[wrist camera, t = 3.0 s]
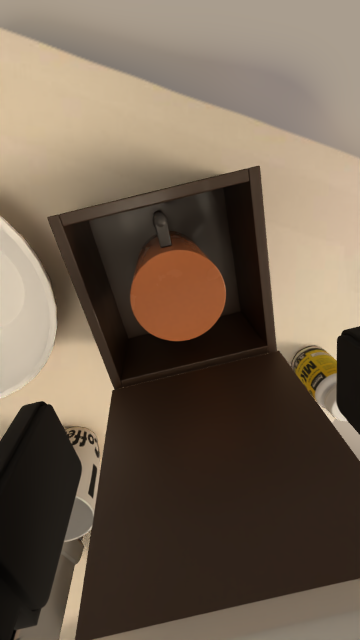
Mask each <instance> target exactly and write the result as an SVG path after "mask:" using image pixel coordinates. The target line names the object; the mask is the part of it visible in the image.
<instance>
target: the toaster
mask: <svg viewBox="0 0 360 640" xmlns="http://www.w3.org/2000/svg"><path fill="white" fill-rule="evenodd" d="M82 538H83V536H82V537H80V538H77V539H75V540H71V541H67V542H64V543H63V547H62V551H61V555H60V559H59V563H58V566H57V570H56V574H55V578H54V582H53V586H52V589H51V593H50V597H49V600H48V602H47V604H46V605H45V606H44V607H43V608H41V612H40V616H39V619H38V623H37V625H36V626H32V627H28V628H23V629H19V630H14V631H13V634H12V637H11V640H59V637H60V632H61V627H62V623H63V618H64V613H65V609H66V604H67V599H68V594H69V590H70V585H71V580H72V576H73V571H74V566H75V564H77V563H78V562H79V560H80V558H81V555H82V552H83V548H84V546H83V543H82V542H81V540H82Z"/></svg>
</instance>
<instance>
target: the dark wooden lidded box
mask: <svg viewBox="0 0 360 640" xmlns="http://www.w3.org/2000/svg"><path fill="white" fill-rule="evenodd" d="M156 211H162V212H163V213H164V214H165V216H166V217H167V219H168V230H169V231H175V232H179V233H182V234H184V235H186V236H187V237H189V238H190V239H191V240H192V241H193V242H194V243H195V244H196V245H197V246H198V247H199V248H200V250H201V251H202V252H203V253H204V254H205V255H206V256H207V257H208V258H209V259H210V260H211V261H212V263H213V264H214V265H215V266H216V267H217V268H218V270H219V271H220V273H221V275H222V277H223V280H224V283H225V288H226V300H225V305H224V308H223V311H222V313H221V315H220V317H219V319H218V320H217V322H216V323H215V324H214V325H213V326H212V327H211V328H210V329H209V330H208V331H206V332H205V333H203V334H202V335H200V336H198V337H196V338H193V339H190V340H185V341H169V340H164V339H161V338H158V337H156V336H154V335H152V334H150V333H149V332H148V331H146V330H145V329H144V328H143V327H142V326H141V325H140V324H139V322H138V321H137V319H136V318H135V316H134V314H133V311H132V308H131V303H130V290H131V285H132V281H133V277H134V273H135V269H136V265H137V261H138V257H139V253H140V250H141V248H142V246H143V245H144V243H145V242H146V241H147V240H148V239H149V238H150V237H152V236H153V235H155V234H157V232H156V228H155V227H154V225H153V214H154V213H155V212H156ZM47 219H48V221H49V224H50V226H51V229H52V231H53V234H54V236H55V239H56V242H57V244H58V247H59V249H60V252H61V254H62V257H63V259H64V262H65V265H66V267H67V270H68V272H69V275H70V277H71V280H72V282H73V285H74V287H75V290H76V293H77V295H78V298H79V300H80V303H81V305H82V308H83V310H84V313H85V316H86V318H87V321H88V323H89V326H90V328H91V331H92V333H93V336H94V338H95V341H96V344H97V346H98V349H99V351H100V354H101V356H102V359H103V361H104V364H105V367H106V369H107V372H108V374H109V377H110V379H111V382H112V384H113V387H114V389H120V388H123V387H128V386H132V385H136V384H140V383H145V382H149V381H153V380H157V379H161V378H166V377H170V376H174V375H178V374H182V373H187V372H191V371H195V370H199V369H203V368H208V367H212V366H216V365H220V364H225V363H229V362H233V361H237V360H241V359H246V358H250V357H254V356H258V355H262V354H267V353H271V352H275V351H277V348H276V337H275V326H274V315H273V304H272V293H271V283H270V272H269V261H268V250H267V239H266V228H265V217H264V206H263V195H262V184H261V174H260V166H256V167H251V168H248V169H243V170H239V171H235V172H231V173H227V174H223V175H219V176H214V177H210V178H206V179H202V180H198V181H194V182H190V183H186V184H182V185H177V186H173V187H169V188H165V189H161V190H157V191H153V192H149V193H145V194H140V195H136V196H132V197H128V198H124V199H120V200H116V201H112V202H107V203H103V204H99V205H95V206H91V207H87V208H83V209H79V210H75V211H70V212H66V213H62V214H58V215H54V216H50V217H47Z"/></svg>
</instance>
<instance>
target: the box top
mask: <svg viewBox="0 0 360 640" xmlns="http://www.w3.org/2000/svg"><path fill="white" fill-rule="evenodd" d="M355 579H360V461H359V460H358V458H357V457H356V456H355V454H354V453H353V451H352V450H351V449H350V447H349V446H348V445H347V443H346V442H345V441H344V439H343V438H342V436H341V435H340V434H339V432H338V431H337V430H336V428H335V427H334V426H333V424H332V423H331V421H330V420H329V419H328V417H327V416H326V414H325V413H324V412H323V410H322V409H321V408H320V406H319V405H318V403H317V402H316V401H315V399H314V398H313V397H312V395H311V394H310V393H309V391H308V390H307V388H306V387H305V386H304V384H303V383H302V382H301V380H300V379H299V377H298V376H297V375H296V373H295V372H294V371H293V369H292V368H291V366H290V365H289V364H288V362H287V361H286V360H285V358H284V357H283V356H282V354H281V353H280V351H275V352H271V353H267V354H263V355H258V356H254V357H250V358H246V359H242V360H237V361H233V362H229V363H225V364H220V365H216V366H212V367H208V368H204V369H199V370H195V371H191V372H187V373H183V374H178V375H174V376H170V377H166V378H162V379H157V380H153V381H149V382H145V383H141V384H136V385H132V386H128V387H124V388H120V389H115V390H113V391H112V397H111V404H110V410H109V417H108V424H107V430H106V437H105V444H104V450H103V457H102V464H101V470H100V477H99V484H98V490H97V497H96V504H95V510H94V517H93V524H92V530H91V537H90V544H89V550H88V557H87V564H86V570H85V577H84V584H83V590H82V597H81V604H80V610H79V617H78V624H77V630H76V637H75V640H93V639H98V638H102V637H106V636H110V635H115V634H119V633H123V632H127V631H132V630H136V629H140V628H145V627H149V626H153V625H157V624H162V623H166V622H170V621H174V620H179V619H183V618H188V617H192V616H196V615H201V614H205V613H209V612H214V611H218V610H223V609H227V608H231V607H236V606H240V605H244V604H249V603H253V602H258V601H262V600H266V599H271V598H275V597H280V596H284V595H288V594H293V593H297V592H302V591H306V590H310V589H315V588H319V587H324V586H328V585H333V584H337V583H342V582H346V581H351V580H355Z"/></svg>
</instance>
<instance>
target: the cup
mask: <svg viewBox="0 0 360 640" xmlns="http://www.w3.org/2000/svg"><path fill="white" fill-rule="evenodd" d="M65 432H66V434H67V436H68V438H69V440H70V442H71V443H72V445H73V447H74V449H75V451H76V453H77V455H78V457H79V459H80V461H81V464H82V474H81V478H80V482H79V486H78V489H77V493H76V497H75V501H74V505H73V509H72V513H71V516H70V520H69V524H68V528H67V532H66V536H65V539H64V542H67V541H71V540H75V539H77V538H80V537H82V536H83V535H85V534H86V533H88V532H89V531H90V530H91V529H92V524H93V517H94V510H95V504H96V497H97V490H98V484H99V477H100V453H99V447H98V441H97V437H96V435H95V434H94V433H93V432H92V431H90V430H89V429H86V428H83V427H72V428H68V429H66V430H65Z"/></svg>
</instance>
